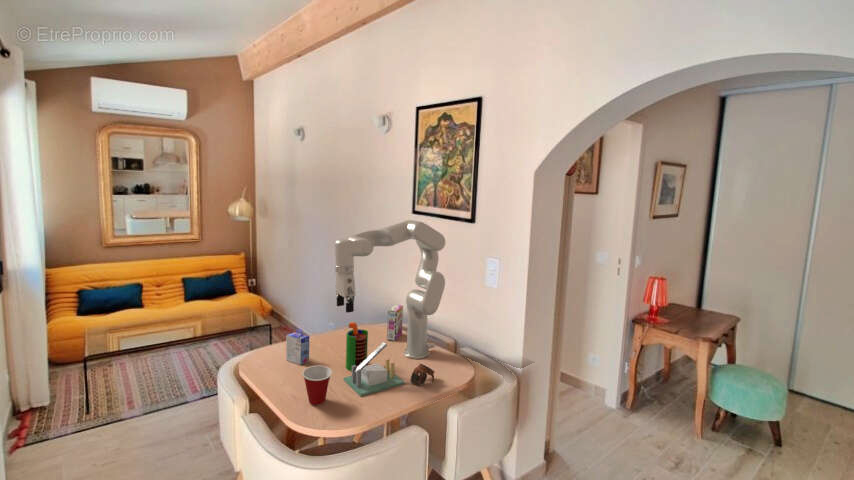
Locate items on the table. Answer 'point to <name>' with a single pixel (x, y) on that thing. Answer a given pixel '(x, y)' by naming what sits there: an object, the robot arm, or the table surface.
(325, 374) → the plastic cup
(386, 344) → the strap
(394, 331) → the candy bar box
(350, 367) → the motor
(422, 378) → the pottery mug
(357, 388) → the board
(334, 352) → the table surface
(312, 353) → the table surface
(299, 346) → the ink cartridge box
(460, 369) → the table surface
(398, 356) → the table surface
